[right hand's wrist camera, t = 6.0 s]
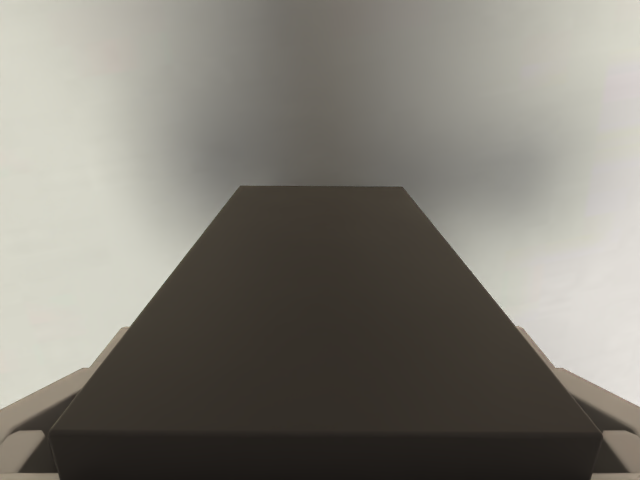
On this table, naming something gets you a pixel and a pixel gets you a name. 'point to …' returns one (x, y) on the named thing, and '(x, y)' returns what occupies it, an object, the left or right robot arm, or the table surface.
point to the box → (323, 359)
